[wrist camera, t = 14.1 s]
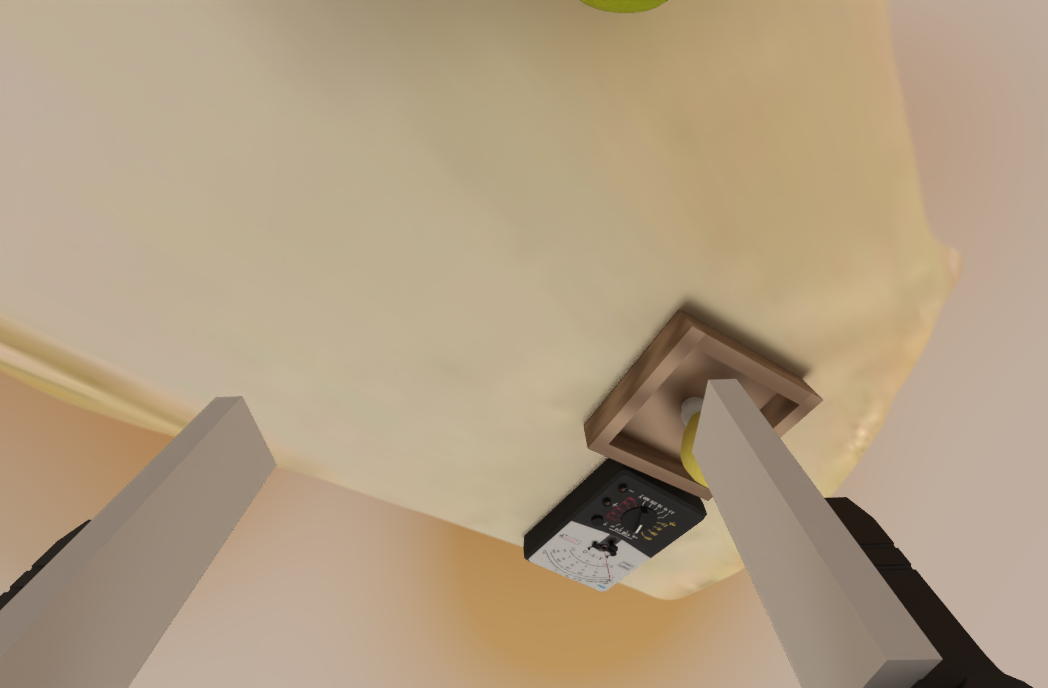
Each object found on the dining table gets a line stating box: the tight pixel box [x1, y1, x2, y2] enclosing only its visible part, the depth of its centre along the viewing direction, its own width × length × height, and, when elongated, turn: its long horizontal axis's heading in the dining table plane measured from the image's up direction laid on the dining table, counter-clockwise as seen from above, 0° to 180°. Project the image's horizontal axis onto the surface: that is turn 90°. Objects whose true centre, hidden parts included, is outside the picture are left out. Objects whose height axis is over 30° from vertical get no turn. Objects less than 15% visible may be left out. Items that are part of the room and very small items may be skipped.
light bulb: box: [680, 397, 709, 488], centre depth 39 cm, size 7×7×10 cm
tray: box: [584, 310, 823, 501], centre depth 42 cm, size 16×16×3 cm
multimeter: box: [524, 458, 707, 592], centre depth 51 cm, size 13×19×5 cm
